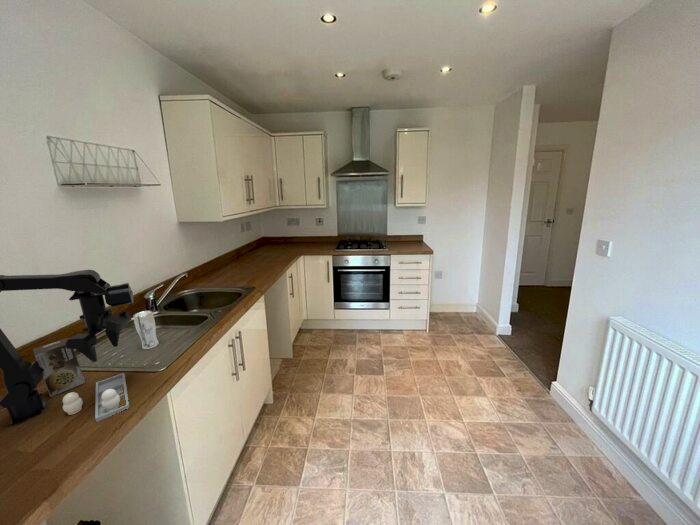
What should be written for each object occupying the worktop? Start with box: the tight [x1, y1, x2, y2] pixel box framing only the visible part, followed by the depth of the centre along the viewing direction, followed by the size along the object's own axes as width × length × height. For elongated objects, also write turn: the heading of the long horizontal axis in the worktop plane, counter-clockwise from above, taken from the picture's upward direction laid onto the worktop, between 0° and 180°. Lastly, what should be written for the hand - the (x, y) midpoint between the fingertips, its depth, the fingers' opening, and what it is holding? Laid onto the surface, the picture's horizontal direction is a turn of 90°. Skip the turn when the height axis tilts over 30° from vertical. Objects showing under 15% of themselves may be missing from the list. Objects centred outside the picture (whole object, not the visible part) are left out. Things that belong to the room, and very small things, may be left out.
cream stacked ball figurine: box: [62, 391, 84, 416], centre depth 88 cm, size 4×4×6 cm
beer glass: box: [133, 310, 160, 350], centre depth 124 cm, size 7×7×15 cm
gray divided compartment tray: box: [94, 372, 130, 423], centre depth 94 cm, size 8×22×2 cm, turn 40°
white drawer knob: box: [101, 389, 120, 412], centre depth 88 cm, size 4×4×6 cm
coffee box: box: [32, 337, 86, 398], centre depth 99 cm, size 9×6×16 cm
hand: (105, 353), depth 96 cm, fingers open, 9 cm apart
